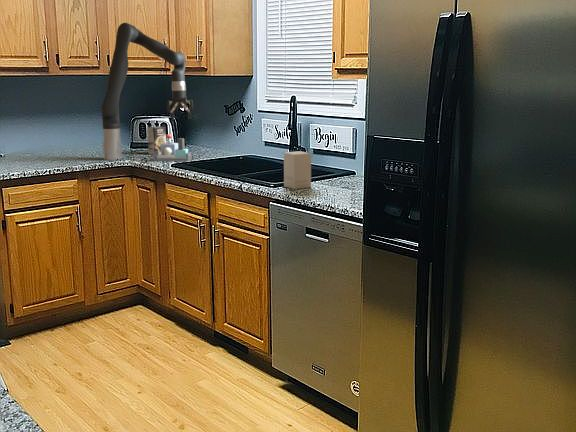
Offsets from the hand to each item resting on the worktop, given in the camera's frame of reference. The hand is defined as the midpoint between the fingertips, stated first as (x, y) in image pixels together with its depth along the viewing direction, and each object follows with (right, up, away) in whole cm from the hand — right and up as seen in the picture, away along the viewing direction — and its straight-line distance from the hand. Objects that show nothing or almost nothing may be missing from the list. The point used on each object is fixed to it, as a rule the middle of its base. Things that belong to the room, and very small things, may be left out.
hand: (180, 119), depth 350 cm
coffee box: (-19, -16, +29) cm, 38 cm away
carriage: (0, -21, +3) cm, 21 cm away
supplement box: (+63, -41, -73) cm, 105 cm away
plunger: (-9, -12, +13) cm, 20 cm away
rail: (-5, -22, +4) cm, 23 cm away
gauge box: (-9, -20, +15) cm, 26 cm away
